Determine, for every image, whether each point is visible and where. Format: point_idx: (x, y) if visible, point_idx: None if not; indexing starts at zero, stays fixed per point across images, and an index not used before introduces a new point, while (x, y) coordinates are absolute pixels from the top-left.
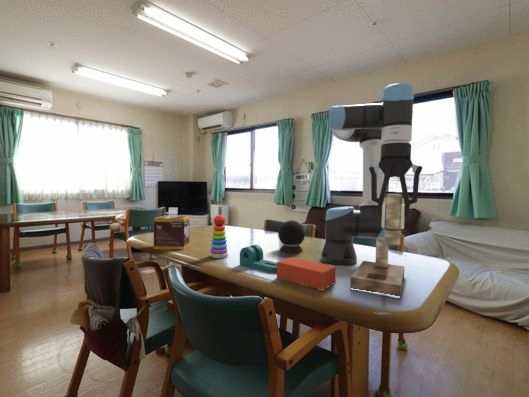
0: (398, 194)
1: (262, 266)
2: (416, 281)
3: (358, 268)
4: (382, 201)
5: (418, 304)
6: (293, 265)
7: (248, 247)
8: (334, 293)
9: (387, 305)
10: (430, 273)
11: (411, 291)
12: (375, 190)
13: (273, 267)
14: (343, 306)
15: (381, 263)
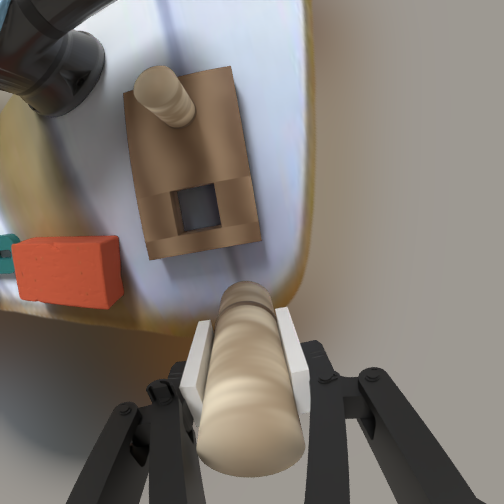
0: (286, 464)
1: (2, 273)
2: (264, 87)
3: (134, 174)
4: (193, 436)
5: (296, 237)
6: (47, 301)
7: None
8: (146, 293)
9: None
10: (278, 15)
11: (269, 167)
12: (142, 484)
13: (14, 270)
14: (188, 336)
15: (179, 124)
